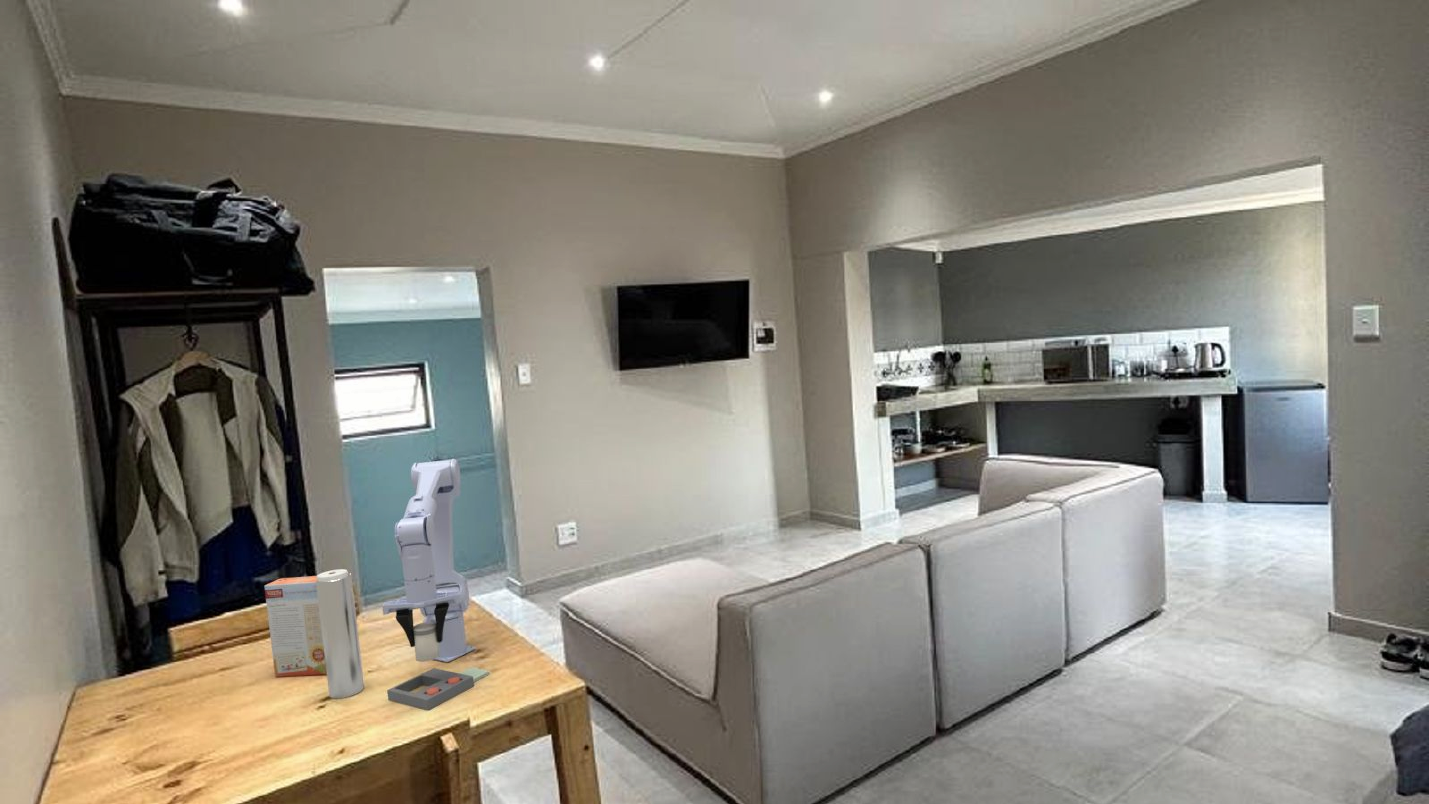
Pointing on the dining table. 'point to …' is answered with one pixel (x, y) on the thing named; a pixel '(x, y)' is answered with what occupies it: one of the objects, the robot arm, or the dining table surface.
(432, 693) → the plunger near
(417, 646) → the cylinder
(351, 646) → the aluminum foil roll
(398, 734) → the dining table surface
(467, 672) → the pad
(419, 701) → the tray
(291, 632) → the cracker box
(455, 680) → the plunger far
